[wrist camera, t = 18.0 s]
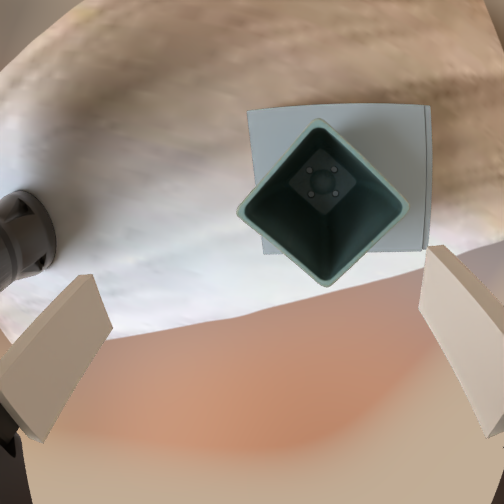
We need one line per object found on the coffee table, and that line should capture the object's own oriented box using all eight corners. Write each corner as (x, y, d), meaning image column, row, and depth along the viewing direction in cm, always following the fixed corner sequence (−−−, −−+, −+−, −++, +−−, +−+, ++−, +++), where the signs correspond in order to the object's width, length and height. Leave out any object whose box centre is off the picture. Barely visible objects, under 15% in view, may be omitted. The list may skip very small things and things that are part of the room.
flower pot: (389, 180, 27) (414, 208, 19) (326, 243, 31) (326, 291, 23) (318, 114, 26) (317, 114, 18) (257, 184, 30) (232, 213, 22)
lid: (267, 245, 35) (263, 254, 33) (252, 110, 29) (246, 110, 27) (422, 241, 31) (428, 251, 29) (423, 105, 25) (431, 105, 23)
